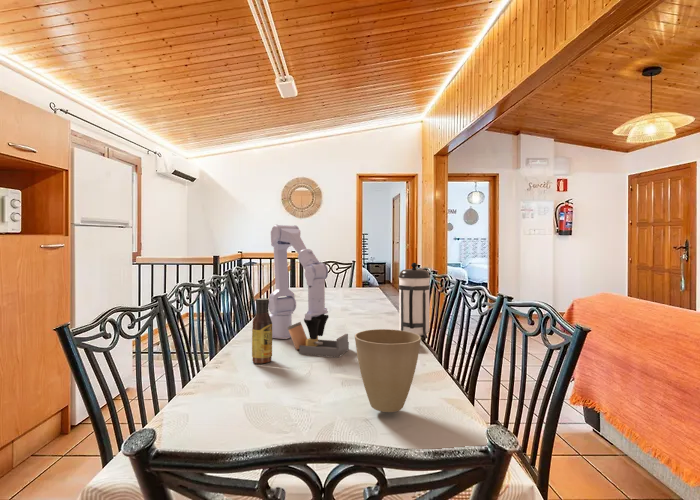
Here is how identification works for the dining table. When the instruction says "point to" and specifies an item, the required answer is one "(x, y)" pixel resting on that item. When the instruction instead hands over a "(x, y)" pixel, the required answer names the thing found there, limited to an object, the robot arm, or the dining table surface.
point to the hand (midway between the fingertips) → (316, 337)
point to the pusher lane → (327, 347)
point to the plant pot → (387, 366)
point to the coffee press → (414, 301)
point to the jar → (297, 335)
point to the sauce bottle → (262, 333)
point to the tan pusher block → (313, 342)
